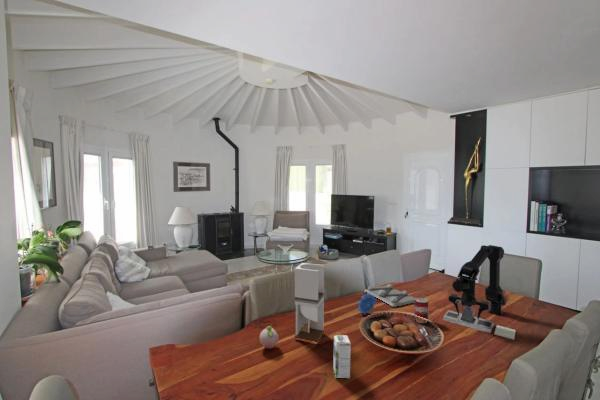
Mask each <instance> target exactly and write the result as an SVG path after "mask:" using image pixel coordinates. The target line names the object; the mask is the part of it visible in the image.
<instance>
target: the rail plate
mask: <svg viewBox="0 0 600 400" xmlns="http://www.w3.org/2000/svg"><path fill="white" fill-rule="evenodd" d="M477 317H478V316H474V323H472V322H468V321H464V320H462V312H459V315H458V313H457V311H453V310H449V309H448V310H447V311H446V313H445V314H444V315H443V317H442V318H443V320H442V321H445V322H448V323H452V324H455V325H459V326H463V327H467V328H469V329H470V328H471V329H474V330H477V331H481V332H485V333H487V334H491V333H492V330H493V328H494V321H492V320H490V319H489V320H488V319H486V318H481V317H479V319H477Z"/></svg>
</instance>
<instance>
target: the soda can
mask: <svg viewBox="0 0 600 400" xmlns="http://www.w3.org/2000/svg"><path fill="white" fill-rule="evenodd" d="M415 298H416V299H415V300H414V303H413V315H414V314H415V315H417V316H420V317H423V318H426V319H428V320H429V307H430V302H429V300H428V299H426V298H424V297H415Z"/></svg>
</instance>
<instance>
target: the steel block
mask: <svg viewBox="0 0 600 400" xmlns="http://www.w3.org/2000/svg"><path fill="white" fill-rule="evenodd" d="M461 313H462V320H464V321H468V322H472V323H474V317H475V307H472V306H471V307H468V306H463V307H462V309H461Z"/></svg>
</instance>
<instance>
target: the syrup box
mask: <svg viewBox="0 0 600 400" xmlns="http://www.w3.org/2000/svg"><path fill="white" fill-rule="evenodd" d="M351 345H352V344H351V340H350V339H349V336H348V335H344V334H339V335H334V336H333V356H332V357H333V361H332V362H333V363H332V364H333V365H332V370H334V371H333V375H334V374H335V375H334V378H335V379H336V378H347V379H351V350H352V349H351V348H352V347H351Z"/></svg>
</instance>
